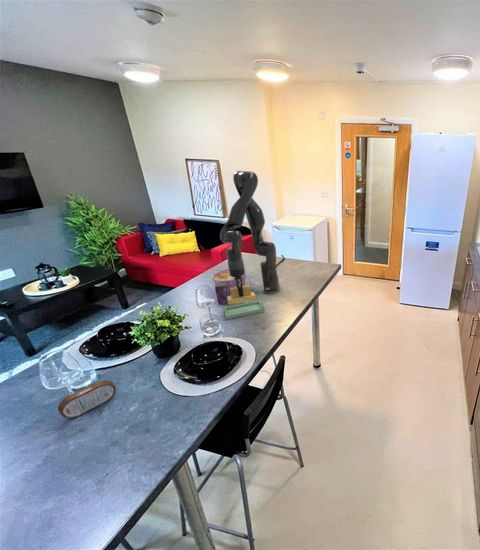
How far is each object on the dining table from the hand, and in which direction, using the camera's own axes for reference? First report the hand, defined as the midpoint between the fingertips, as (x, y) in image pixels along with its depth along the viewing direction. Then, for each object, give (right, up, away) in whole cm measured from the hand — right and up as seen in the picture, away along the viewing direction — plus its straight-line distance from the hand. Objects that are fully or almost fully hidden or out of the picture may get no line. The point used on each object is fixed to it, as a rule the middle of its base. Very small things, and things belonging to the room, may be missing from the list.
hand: (241, 295), depth 160 cm
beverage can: (-16, -5, +13) cm, 22 cm away
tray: (0, -10, +4) cm, 10 cm away
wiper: (0, -3, +1) cm, 3 cm away
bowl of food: (-18, +1, +27) cm, 32 cm away
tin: (-29, -37, -56) cm, 73 cm away
